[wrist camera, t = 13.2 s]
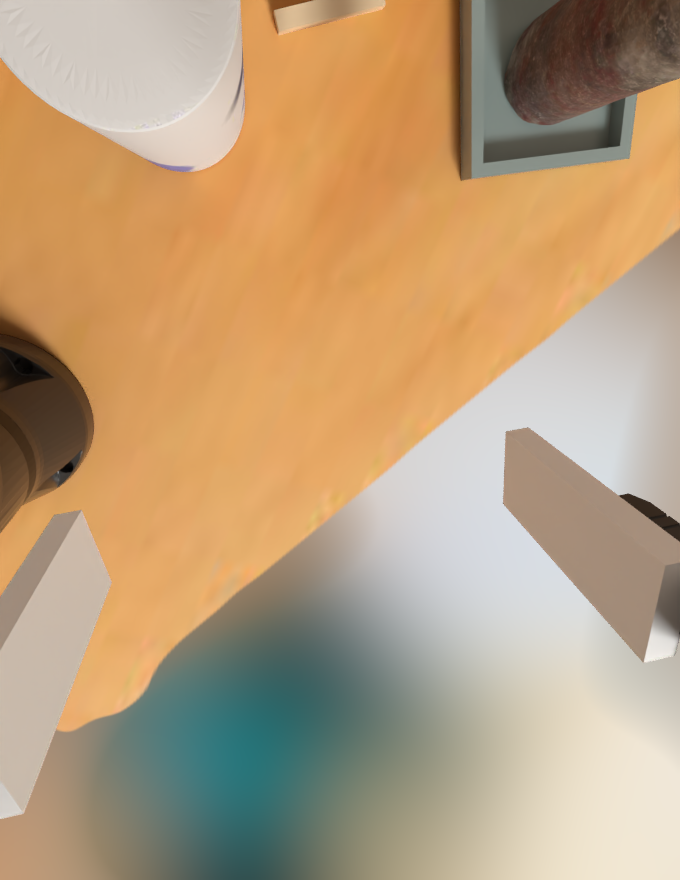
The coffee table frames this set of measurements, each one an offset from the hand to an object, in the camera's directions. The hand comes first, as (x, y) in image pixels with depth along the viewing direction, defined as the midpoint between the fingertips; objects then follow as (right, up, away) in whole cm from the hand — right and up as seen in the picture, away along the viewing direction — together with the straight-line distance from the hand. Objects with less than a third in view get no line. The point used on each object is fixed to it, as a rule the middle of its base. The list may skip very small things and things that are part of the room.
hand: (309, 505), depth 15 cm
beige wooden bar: (0, +33, +20) cm, 39 cm away
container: (-11, +28, +21) cm, 36 cm away
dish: (+17, +32, +24) cm, 43 cm away
